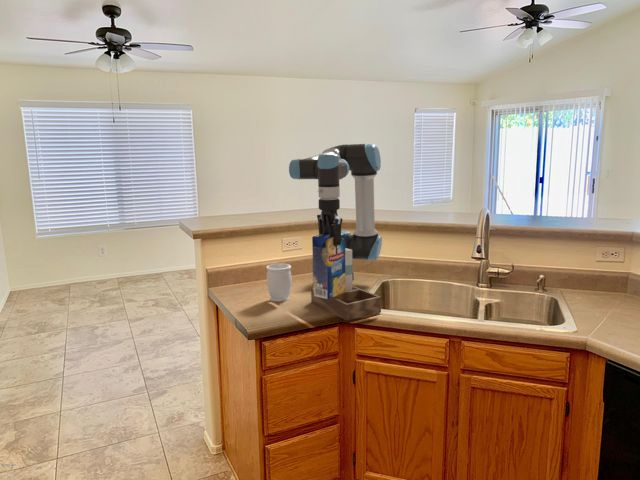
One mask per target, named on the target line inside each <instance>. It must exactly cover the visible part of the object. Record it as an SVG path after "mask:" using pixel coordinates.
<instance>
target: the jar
mask: <svg viewBox="0 0 640 480" xmlns="http://www.w3.org/2000/svg"><path fill="white" fill-rule="evenodd" d="M291 269H292V265H290V264H288V263H282V262H281V263H280V262H279V263H271V264H268V265H266V270H267V273H266V284H267V290H268V294H269V296H270V297H269V298H270V302H271V303H273V304H275V302H285V301H287V300H289V299H290V297H289V296H290V295H291V287H292V283H293V281H292V280H293V279H292V277H293V276H292V272H291Z"/></svg>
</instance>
